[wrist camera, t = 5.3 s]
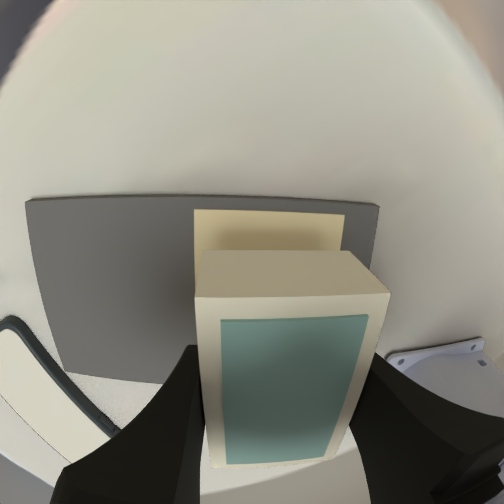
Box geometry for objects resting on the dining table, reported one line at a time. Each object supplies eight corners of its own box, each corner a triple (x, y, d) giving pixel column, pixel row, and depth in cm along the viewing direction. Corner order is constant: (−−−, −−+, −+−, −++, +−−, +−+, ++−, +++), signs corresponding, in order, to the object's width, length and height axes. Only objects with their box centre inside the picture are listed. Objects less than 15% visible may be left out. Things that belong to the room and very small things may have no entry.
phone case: (-27, 338, 16) (89, 464, 21) (-37, 349, 14) (85, 476, 19) (23, 304, 15) (158, 456, 20) (10, 316, 14) (155, 471, 19)
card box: (317, 406, 13) (334, 461, 10) (212, 412, 13) (211, 471, 10) (348, 250, 10) (393, 295, 7) (203, 250, 10) (194, 300, 7)
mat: (374, 203, 14) (380, 207, 13) (337, 374, 17) (341, 382, 17) (31, 199, 12) (23, 202, 12) (68, 365, 16) (64, 372, 15)
